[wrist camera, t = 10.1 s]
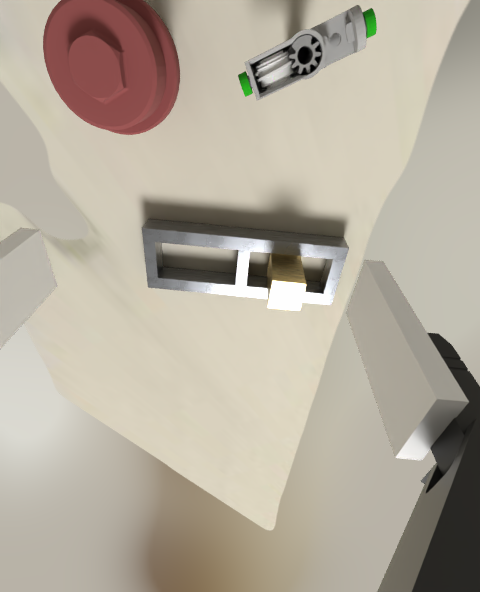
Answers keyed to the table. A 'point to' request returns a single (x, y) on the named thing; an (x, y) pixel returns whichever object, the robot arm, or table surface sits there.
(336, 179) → the table surface
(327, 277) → the rack frame
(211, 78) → the table surface
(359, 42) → the mechanical component
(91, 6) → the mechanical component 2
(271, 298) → the brushed brass bar
